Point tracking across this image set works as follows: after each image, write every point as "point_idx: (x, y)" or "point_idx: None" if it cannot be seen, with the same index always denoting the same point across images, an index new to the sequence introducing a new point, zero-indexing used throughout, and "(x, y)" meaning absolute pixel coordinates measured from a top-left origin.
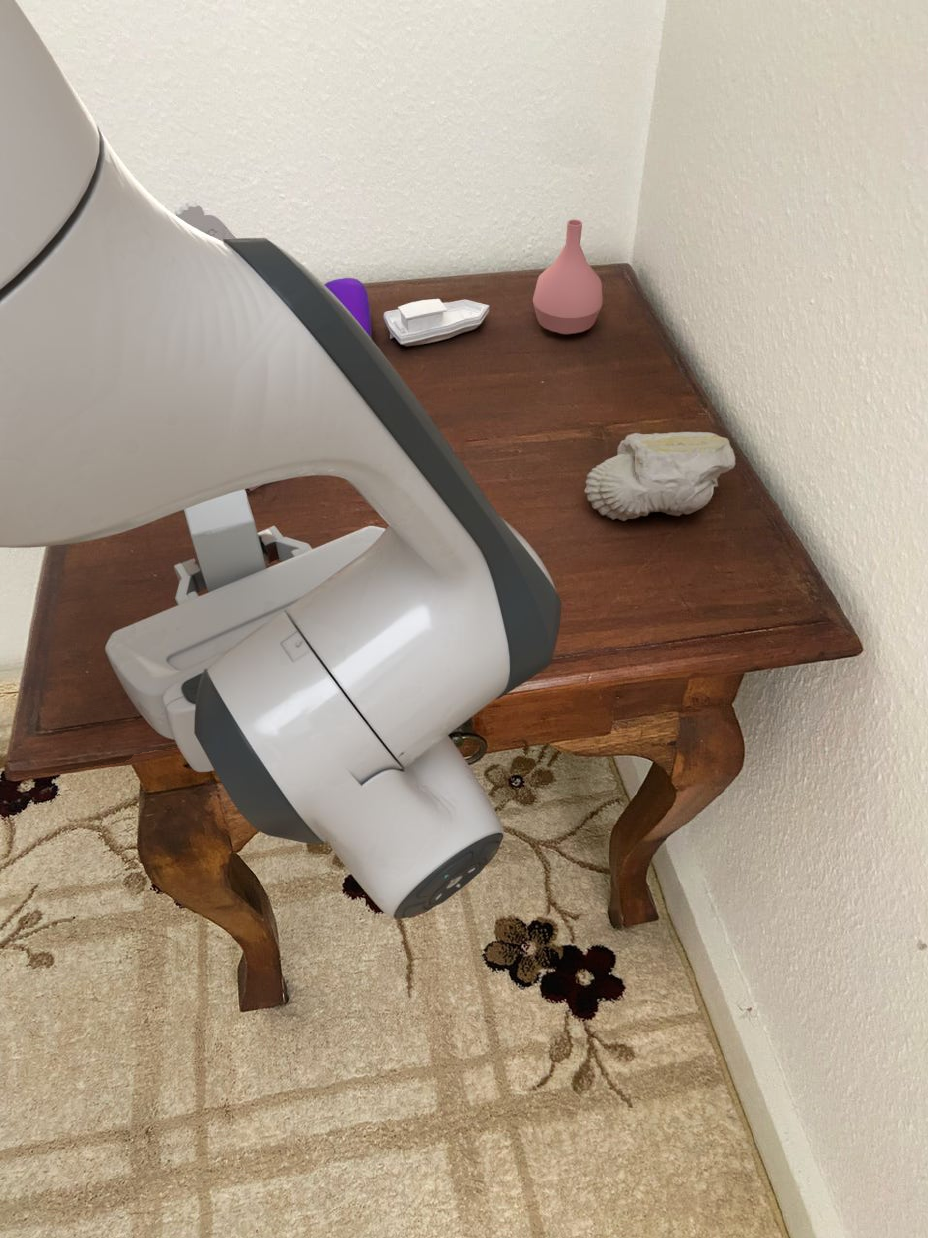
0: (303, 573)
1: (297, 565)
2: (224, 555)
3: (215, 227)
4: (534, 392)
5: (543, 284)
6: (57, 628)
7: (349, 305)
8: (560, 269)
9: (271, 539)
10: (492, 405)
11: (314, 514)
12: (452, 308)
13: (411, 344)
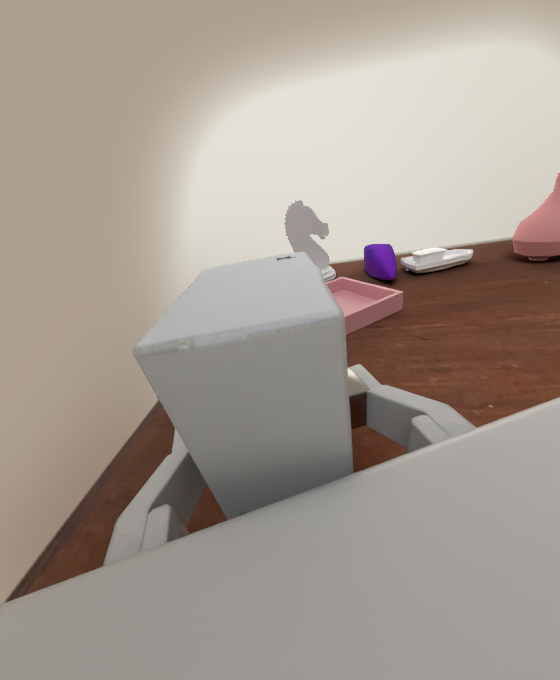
0: (521, 535)
1: (472, 484)
2: (244, 422)
3: (308, 213)
4: (544, 287)
5: (530, 223)
6: (129, 454)
7: (382, 251)
8: (548, 209)
9: (357, 387)
10: (509, 296)
11: (371, 368)
12: (445, 255)
13: (422, 271)
